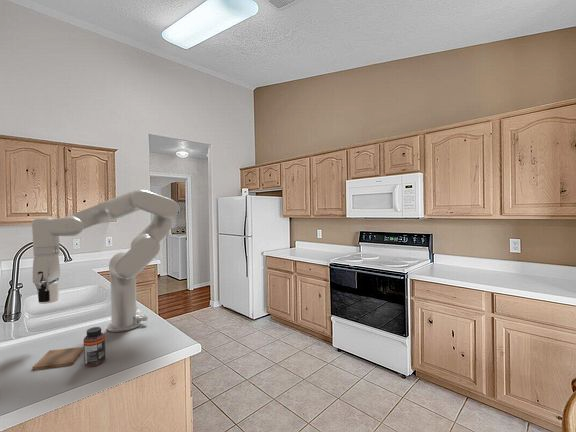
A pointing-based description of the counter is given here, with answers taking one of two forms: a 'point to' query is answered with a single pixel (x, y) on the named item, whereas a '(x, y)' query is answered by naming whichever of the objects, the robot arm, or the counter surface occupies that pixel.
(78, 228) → the robot arm
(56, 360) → the coaster
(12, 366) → the counter surface
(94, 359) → the supplement bottle
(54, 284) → the white cup
